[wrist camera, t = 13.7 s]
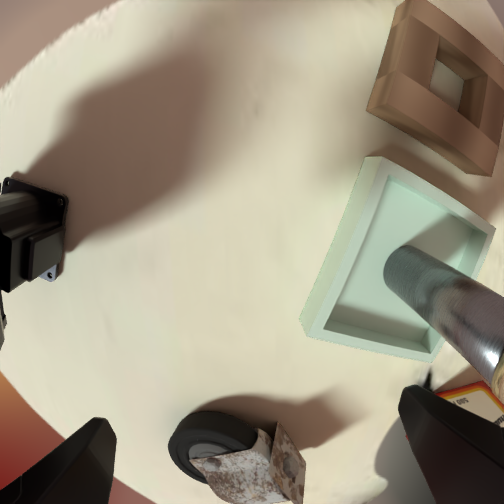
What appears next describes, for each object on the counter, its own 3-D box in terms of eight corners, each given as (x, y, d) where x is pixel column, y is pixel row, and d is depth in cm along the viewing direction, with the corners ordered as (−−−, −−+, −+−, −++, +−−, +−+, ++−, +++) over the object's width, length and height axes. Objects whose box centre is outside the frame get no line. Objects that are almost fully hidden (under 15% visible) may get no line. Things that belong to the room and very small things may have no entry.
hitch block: (365, 110, 18) (386, 103, 15) (396, 7, 15) (415, -8, 12) (466, 173, 19) (491, 176, 16) (486, 75, 17) (509, 70, 14)
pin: (371, 286, 20) (489, 408, 8) (394, 234, 19) (543, 319, 7) (411, 300, 21) (523, 405, 8) (433, 252, 20) (566, 332, 7)
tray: (299, 318, 21) (306, 336, 19) (365, 156, 18) (382, 156, 16) (418, 347, 23) (432, 363, 21) (476, 221, 20) (496, 228, 18)
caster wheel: (169, 407, 26) (260, 381, 24) (226, 477, 27) (311, 461, 25) (139, 450, 20) (244, 432, 18) (211, 521, 20) (308, 511, 18)
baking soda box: (482, 380, 26) (555, 461, 11) (461, 419, 28) (519, 499, 12) (426, 395, 25) (501, 504, 10) (405, 436, 27) (460, 538, 12)
